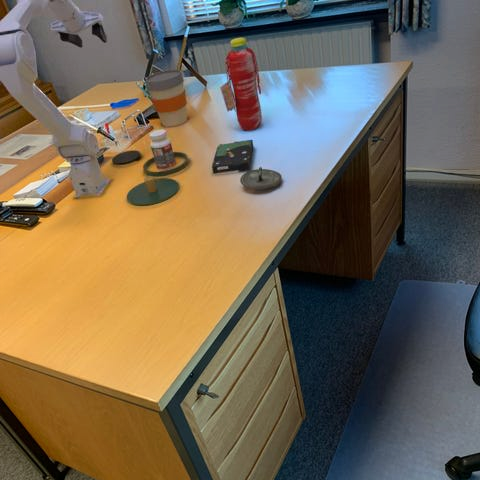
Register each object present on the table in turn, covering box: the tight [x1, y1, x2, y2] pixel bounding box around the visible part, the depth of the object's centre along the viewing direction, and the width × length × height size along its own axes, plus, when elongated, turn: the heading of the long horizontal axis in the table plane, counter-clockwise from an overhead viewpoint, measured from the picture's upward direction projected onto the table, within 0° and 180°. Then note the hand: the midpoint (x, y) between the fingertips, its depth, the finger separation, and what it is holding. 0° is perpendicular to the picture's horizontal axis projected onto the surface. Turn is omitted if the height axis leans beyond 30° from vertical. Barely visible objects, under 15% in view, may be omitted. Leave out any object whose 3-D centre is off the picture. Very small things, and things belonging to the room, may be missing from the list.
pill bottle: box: [149, 128, 177, 171], centre depth 137 cm, size 6×6×10 cm
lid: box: [239, 166, 283, 190], centre depth 121 cm, size 11×10×5 cm
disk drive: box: [211, 139, 255, 174], centre depth 135 cm, size 10×3×15 cm
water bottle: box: [220, 37, 263, 131], centre depth 145 cm, size 12×8×25 cm, turn 90°
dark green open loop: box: [142, 151, 190, 178], centre depth 139 cm, size 13×13×2 cm
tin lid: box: [126, 176, 180, 207], centre depth 127 cm, size 14×14×5 cm
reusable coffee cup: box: [145, 69, 188, 128], centre depth 164 cm, size 13×13×15 cm
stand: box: [111, 149, 142, 166], centre depth 149 cm, size 9×9×1 cm
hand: (93, 41), depth 138 cm, fingers open, 7 cm apart
